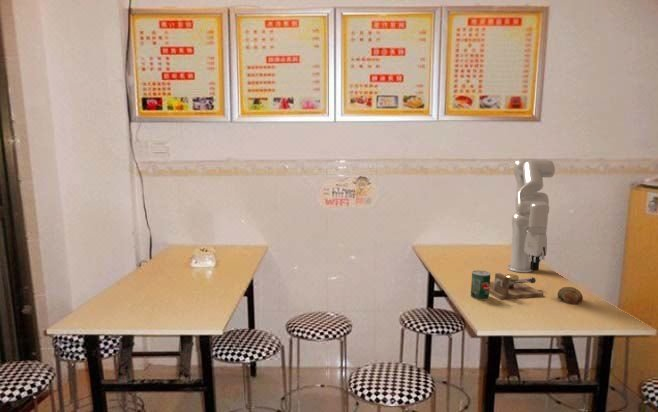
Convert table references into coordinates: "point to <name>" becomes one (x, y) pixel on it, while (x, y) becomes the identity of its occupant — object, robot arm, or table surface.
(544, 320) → the table surface
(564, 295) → the bread roll
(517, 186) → the robot arm
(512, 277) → the lever
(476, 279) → the canned tomato
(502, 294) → the stand
